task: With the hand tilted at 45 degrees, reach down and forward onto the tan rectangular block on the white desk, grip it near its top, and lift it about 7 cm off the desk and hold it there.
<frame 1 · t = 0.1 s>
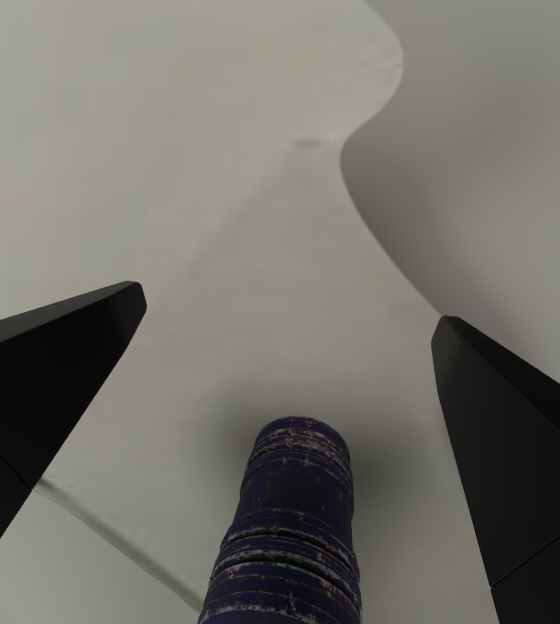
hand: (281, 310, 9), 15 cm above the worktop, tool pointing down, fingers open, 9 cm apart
storage jar: (301, 453, 31), on the worktop
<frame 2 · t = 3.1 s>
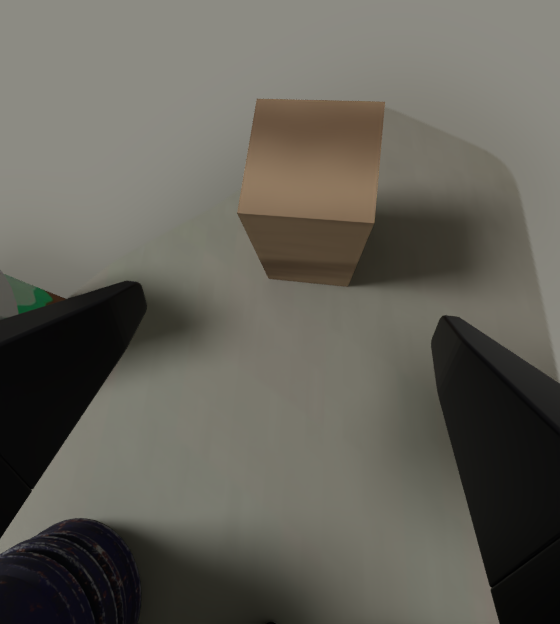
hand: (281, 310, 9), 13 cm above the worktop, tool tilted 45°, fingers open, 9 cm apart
tan rectangular block: (312, 245, 24), on the worktop
food container: (40, 320, 25), on the worktop
storage jar: (75, 595, 21), on the worktop
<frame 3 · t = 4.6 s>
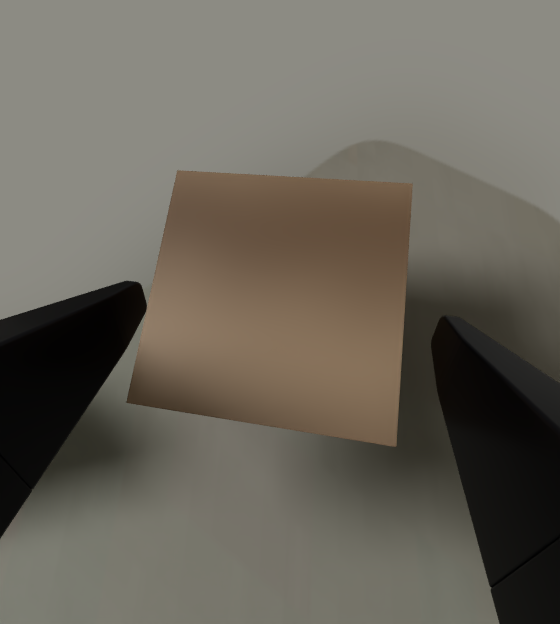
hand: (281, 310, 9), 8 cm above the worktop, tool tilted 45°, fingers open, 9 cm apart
tan rectangular block: (295, 338, 17), on the worktop
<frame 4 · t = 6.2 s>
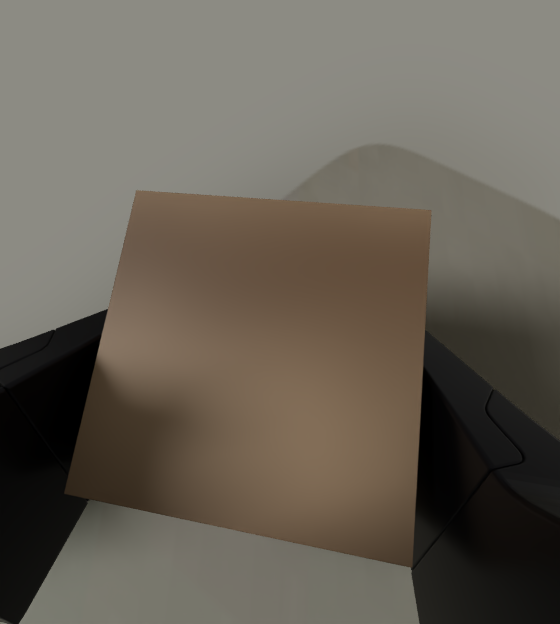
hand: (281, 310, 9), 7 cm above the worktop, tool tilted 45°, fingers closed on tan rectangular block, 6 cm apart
tan rectangular block: (290, 362, 15), on the worktop, touching gripper
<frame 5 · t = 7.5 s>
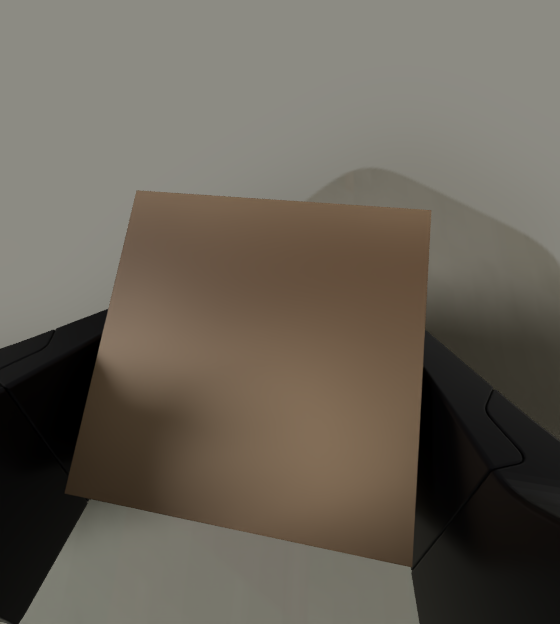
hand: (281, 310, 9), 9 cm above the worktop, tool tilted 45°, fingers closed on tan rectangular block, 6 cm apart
tan rectangular block: (290, 362, 15), point 2 cm above the worktop, touching gripper
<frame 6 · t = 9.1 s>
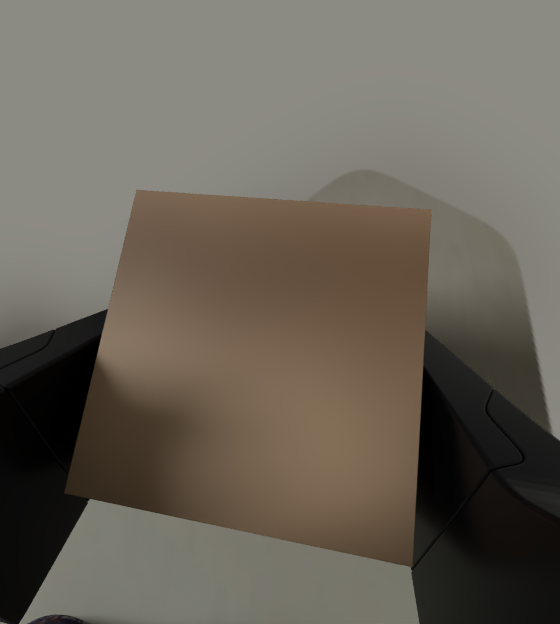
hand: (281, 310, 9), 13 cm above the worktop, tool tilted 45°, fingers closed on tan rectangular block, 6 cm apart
tan rectangular block: (290, 362, 15), point 7 cm above the worktop, touching gripper
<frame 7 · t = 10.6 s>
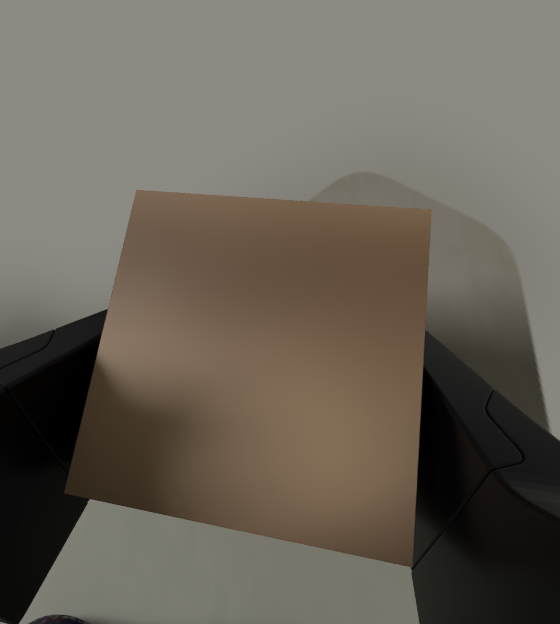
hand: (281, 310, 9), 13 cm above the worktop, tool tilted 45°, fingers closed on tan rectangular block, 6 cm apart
tan rectangular block: (290, 362, 15), point 7 cm above the worktop, touching gripper
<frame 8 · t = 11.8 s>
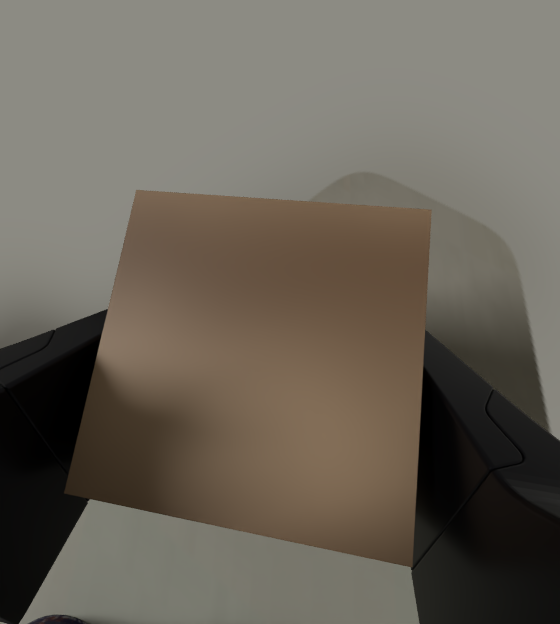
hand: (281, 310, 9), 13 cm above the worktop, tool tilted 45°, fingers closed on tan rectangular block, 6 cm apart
tan rectangular block: (290, 362, 15), point 7 cm above the worktop, touching gripper
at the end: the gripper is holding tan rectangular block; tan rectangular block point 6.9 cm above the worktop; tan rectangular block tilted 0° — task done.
